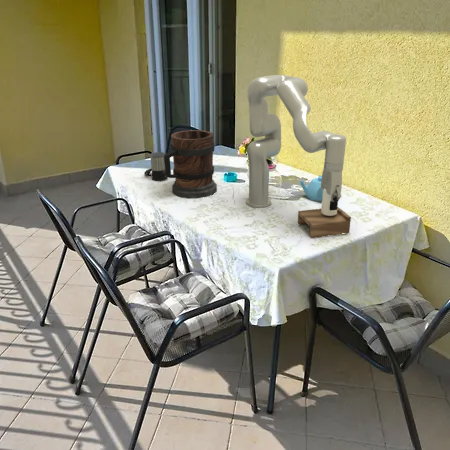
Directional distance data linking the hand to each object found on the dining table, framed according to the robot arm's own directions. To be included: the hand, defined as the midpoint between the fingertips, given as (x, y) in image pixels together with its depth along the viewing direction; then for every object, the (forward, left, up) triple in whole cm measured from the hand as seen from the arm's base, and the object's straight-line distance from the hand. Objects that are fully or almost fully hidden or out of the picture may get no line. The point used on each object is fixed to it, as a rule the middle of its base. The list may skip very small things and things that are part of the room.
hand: (329, 206), depth 181 cm
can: (0, 0, -3) cm, 3 cm away
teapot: (-35, +12, -10) cm, 38 cm away
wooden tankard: (-60, -50, -10) cm, 79 cm away
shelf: (0, -2, -10) cm, 10 cm away
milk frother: (-89, -66, -10) cm, 112 cm away
